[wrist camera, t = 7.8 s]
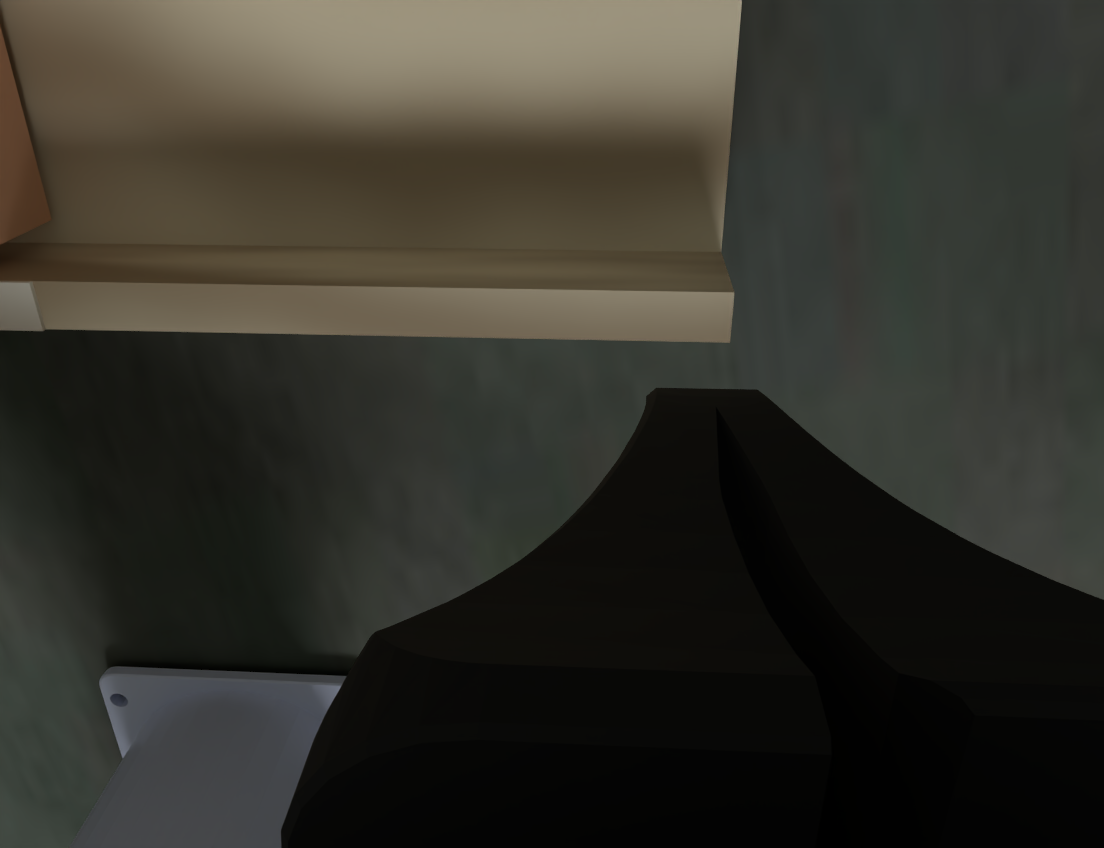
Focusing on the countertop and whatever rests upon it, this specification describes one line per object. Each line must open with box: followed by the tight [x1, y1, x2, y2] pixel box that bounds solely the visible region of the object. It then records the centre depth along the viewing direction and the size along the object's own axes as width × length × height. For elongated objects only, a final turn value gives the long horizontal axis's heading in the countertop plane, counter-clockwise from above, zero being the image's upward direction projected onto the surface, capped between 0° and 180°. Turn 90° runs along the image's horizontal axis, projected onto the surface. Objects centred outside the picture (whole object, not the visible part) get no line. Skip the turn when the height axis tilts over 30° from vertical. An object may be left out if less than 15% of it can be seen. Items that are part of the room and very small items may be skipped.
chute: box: [0, 0, 742, 342], centre depth 18 cm, size 10×28×4 cm, turn 90°
